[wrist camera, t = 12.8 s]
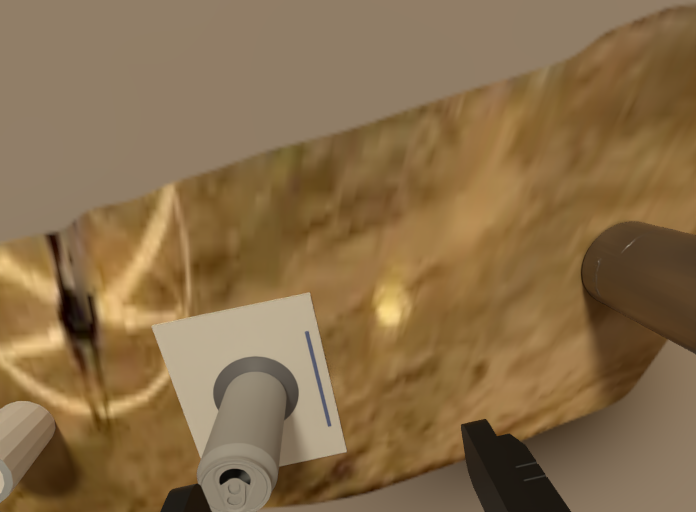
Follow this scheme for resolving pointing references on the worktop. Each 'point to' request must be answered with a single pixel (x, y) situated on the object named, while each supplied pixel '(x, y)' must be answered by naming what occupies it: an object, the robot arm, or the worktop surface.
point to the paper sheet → (256, 370)
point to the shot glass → (21, 440)
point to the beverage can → (244, 445)
